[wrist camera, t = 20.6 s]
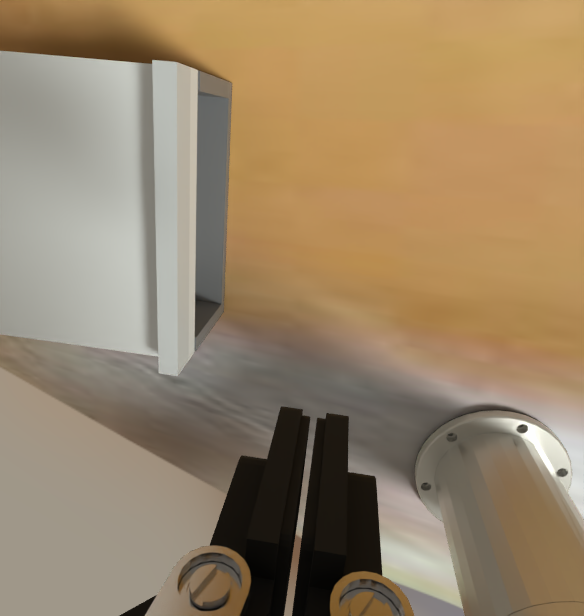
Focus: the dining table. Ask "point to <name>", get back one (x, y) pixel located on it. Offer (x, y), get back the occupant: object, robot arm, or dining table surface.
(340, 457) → the robot arm
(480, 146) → the dining table surface
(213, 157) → the housing
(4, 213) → the lid
